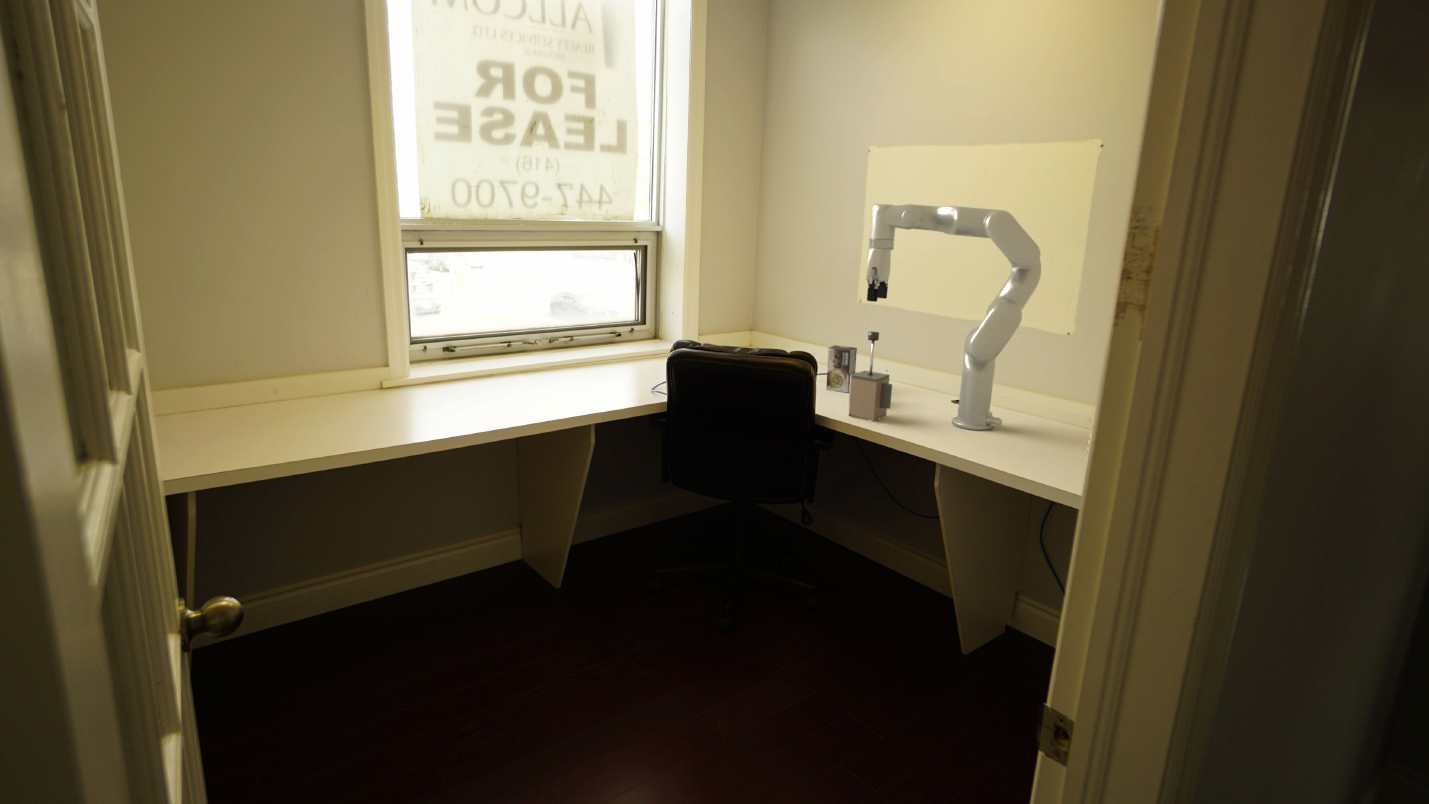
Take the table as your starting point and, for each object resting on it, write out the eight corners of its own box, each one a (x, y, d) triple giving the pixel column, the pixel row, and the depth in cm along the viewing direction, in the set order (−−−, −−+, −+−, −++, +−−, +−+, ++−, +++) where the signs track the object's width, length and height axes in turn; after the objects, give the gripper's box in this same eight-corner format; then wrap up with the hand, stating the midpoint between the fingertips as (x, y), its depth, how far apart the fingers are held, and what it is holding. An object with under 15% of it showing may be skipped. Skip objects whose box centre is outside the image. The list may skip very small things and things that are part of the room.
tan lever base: (894, 417, 254) (897, 376, 250) (881, 423, 247) (885, 380, 243) (861, 410, 261) (864, 370, 257) (848, 416, 254) (851, 374, 250)
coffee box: (854, 389, 290) (857, 347, 286) (848, 393, 284) (851, 350, 280) (832, 386, 294) (835, 344, 290) (825, 389, 289) (827, 347, 285)
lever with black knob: (882, 383, 252) (886, 332, 248) (874, 386, 248) (878, 334, 243) (866, 380, 256) (869, 330, 252) (857, 383, 251) (861, 332, 247)
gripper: (878, 243, 250) (874, 296, 254) (860, 245, 235) (856, 301, 240) (901, 244, 246) (896, 298, 251) (884, 246, 232) (879, 303, 236)
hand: (876, 299), depth 245 cm, fingers open, 9 cm apart
